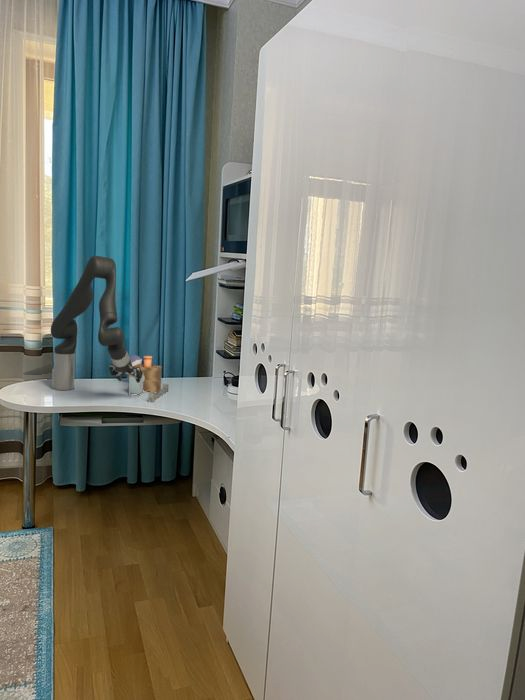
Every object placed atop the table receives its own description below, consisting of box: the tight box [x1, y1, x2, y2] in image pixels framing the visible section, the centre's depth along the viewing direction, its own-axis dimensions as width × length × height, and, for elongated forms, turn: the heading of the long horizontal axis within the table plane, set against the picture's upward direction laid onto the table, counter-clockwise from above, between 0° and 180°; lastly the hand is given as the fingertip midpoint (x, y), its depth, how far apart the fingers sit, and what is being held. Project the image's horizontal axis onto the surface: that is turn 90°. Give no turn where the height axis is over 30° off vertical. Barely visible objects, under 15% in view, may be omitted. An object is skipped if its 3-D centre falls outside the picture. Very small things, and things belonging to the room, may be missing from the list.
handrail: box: [147, 383, 169, 403], centre depth 279 cm, size 2×22×4 cm, turn 171°
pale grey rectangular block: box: [128, 372, 144, 396], centre depth 281 cm, size 5×5×10 cm
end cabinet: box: [133, 364, 163, 393], centre depth 289 cm, size 12×8×12 cm, turn 81°
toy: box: [127, 354, 144, 381], centre depth 300 cm, size 11×10×15 cm
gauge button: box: [143, 355, 153, 368], centre depth 289 cm, size 4×4×8 cm
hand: (129, 380), depth 272 cm, fingers open, 8 cm apart
